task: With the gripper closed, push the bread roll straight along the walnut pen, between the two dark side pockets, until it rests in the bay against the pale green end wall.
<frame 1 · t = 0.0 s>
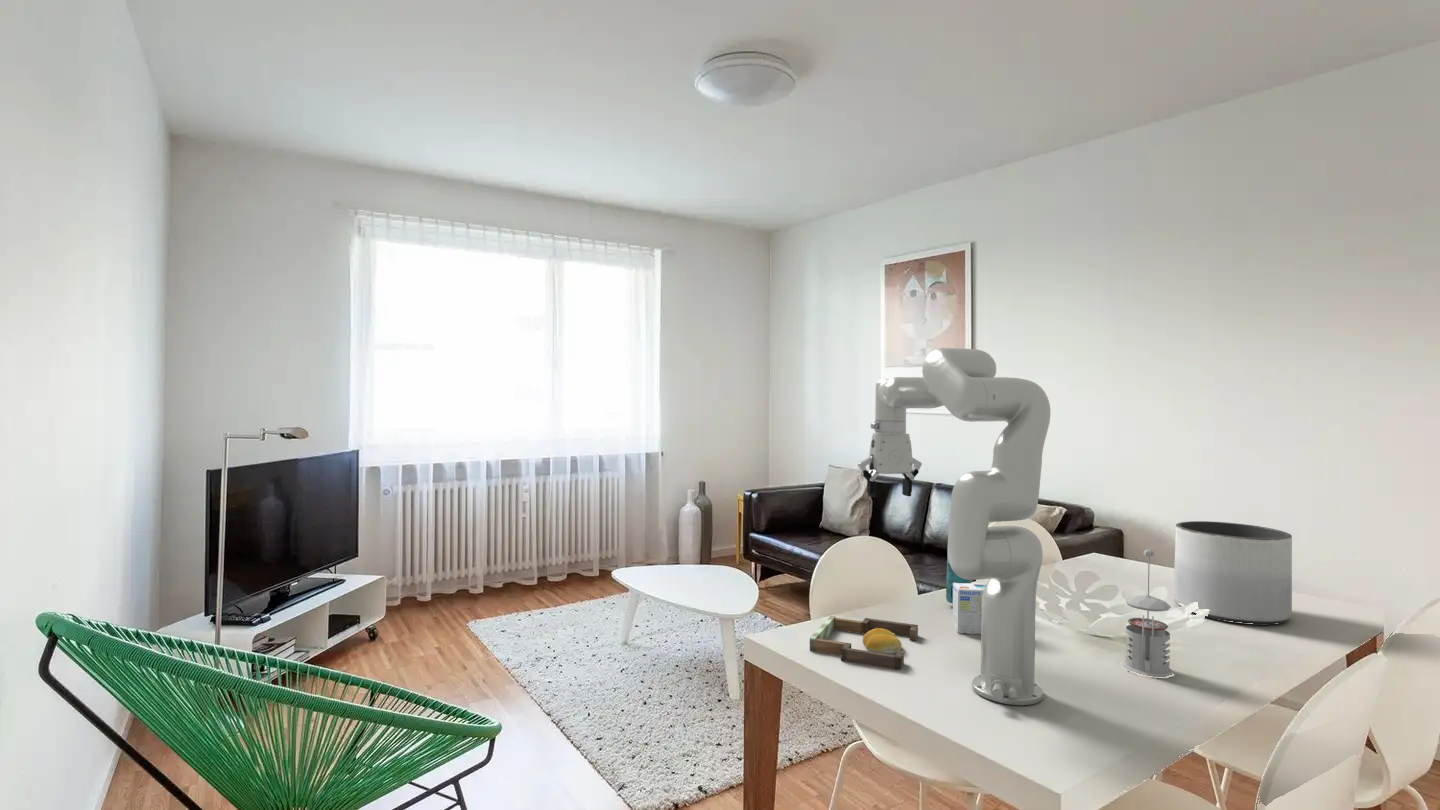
hand: (889, 496, 179), 31 cm above the table, tool pointing down, fingers open, 9 cm apart
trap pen: (864, 644, 161), on the table
bread roll: (881, 649, 159), on the table
beverage bottle: (958, 607, 191), on the table
light bulb box: (976, 631, 172), on the table
planter: (1230, 613, 189), on the table
french press: (1146, 671, 147), on the table
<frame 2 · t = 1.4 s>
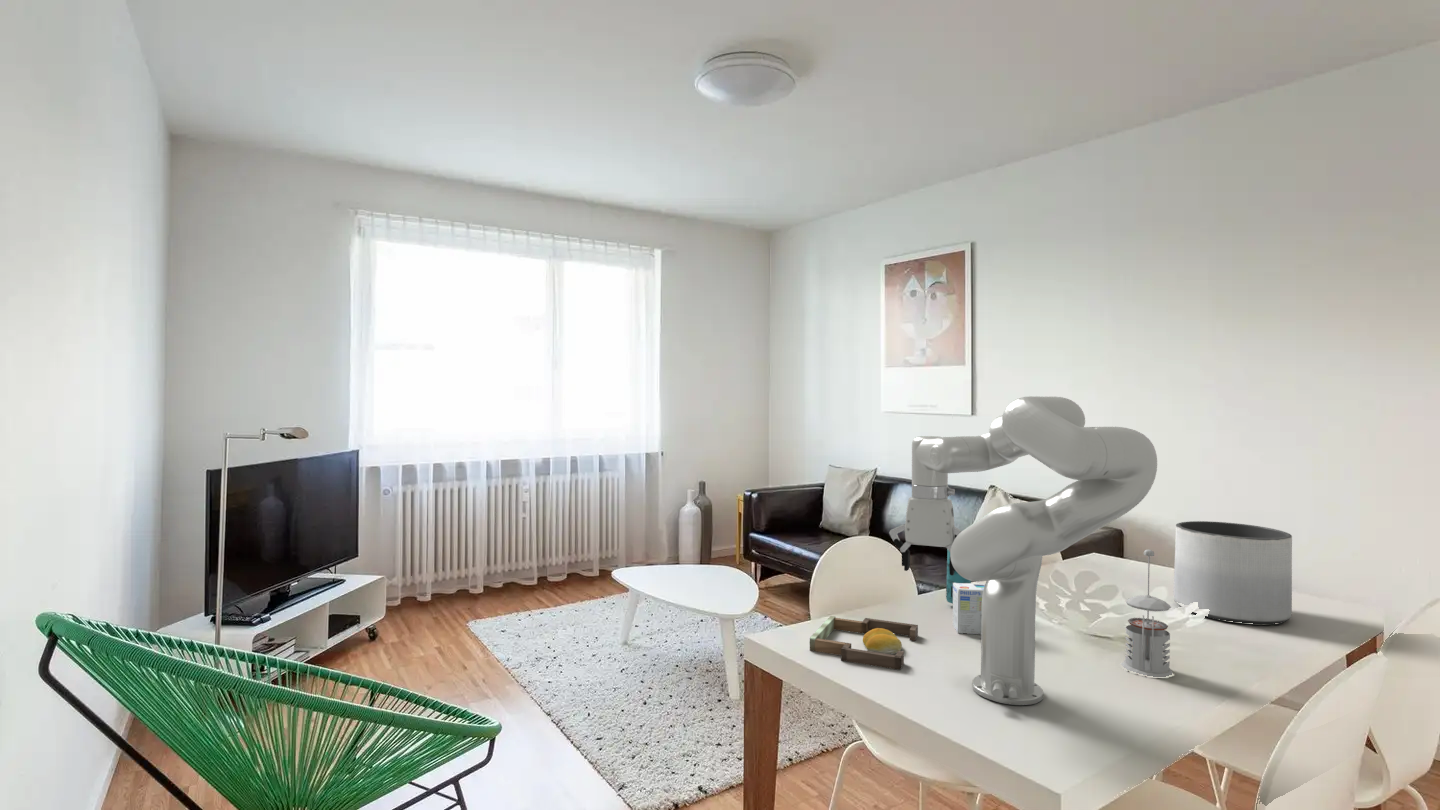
hand: (929, 571, 155), 18 cm above the table, tool pointing down, fingers open, 9 cm apart
nothing on the table moved.
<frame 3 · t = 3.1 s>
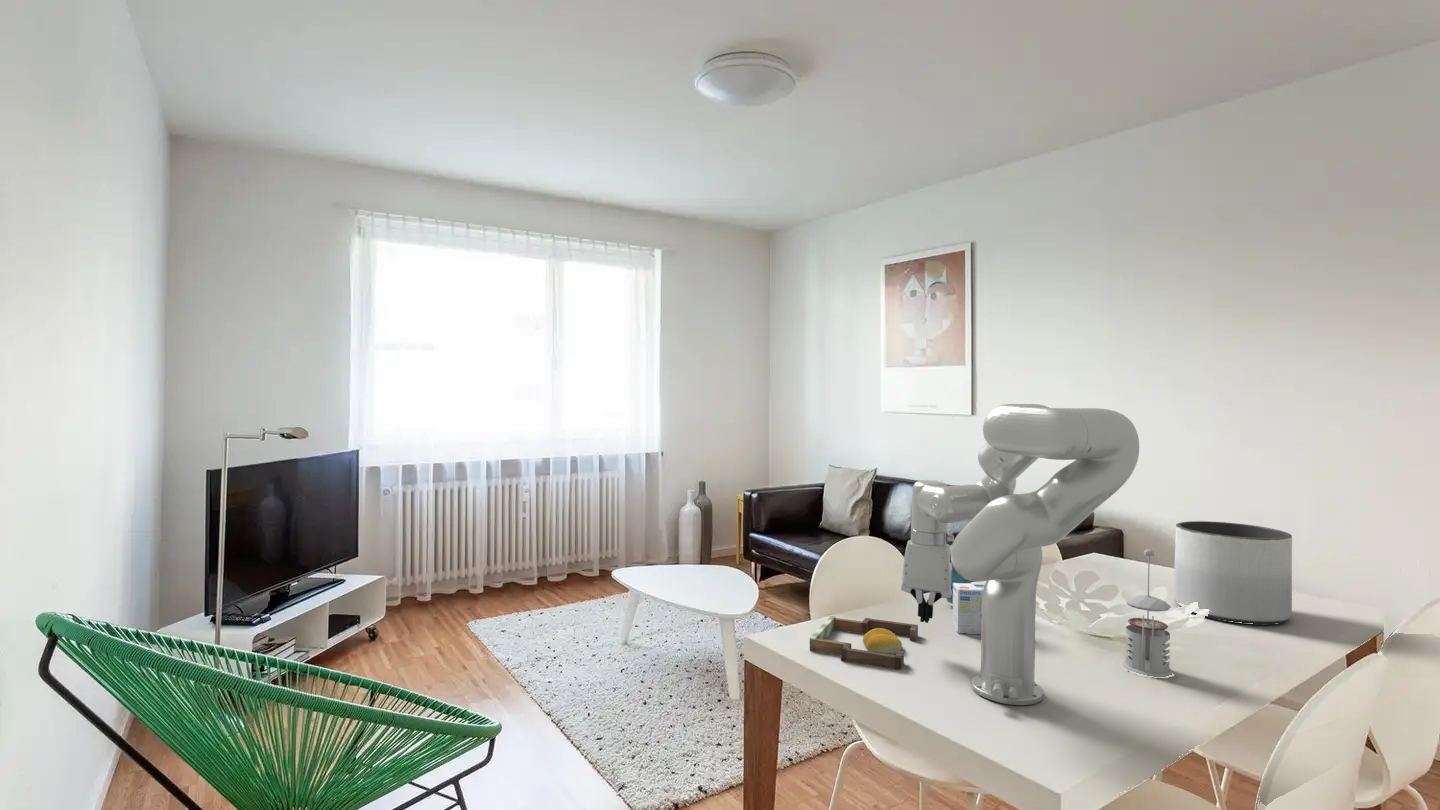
hand: (925, 620, 156), 7 cm above the table, tool pointing down, fingers closed
nothing on the table moved.
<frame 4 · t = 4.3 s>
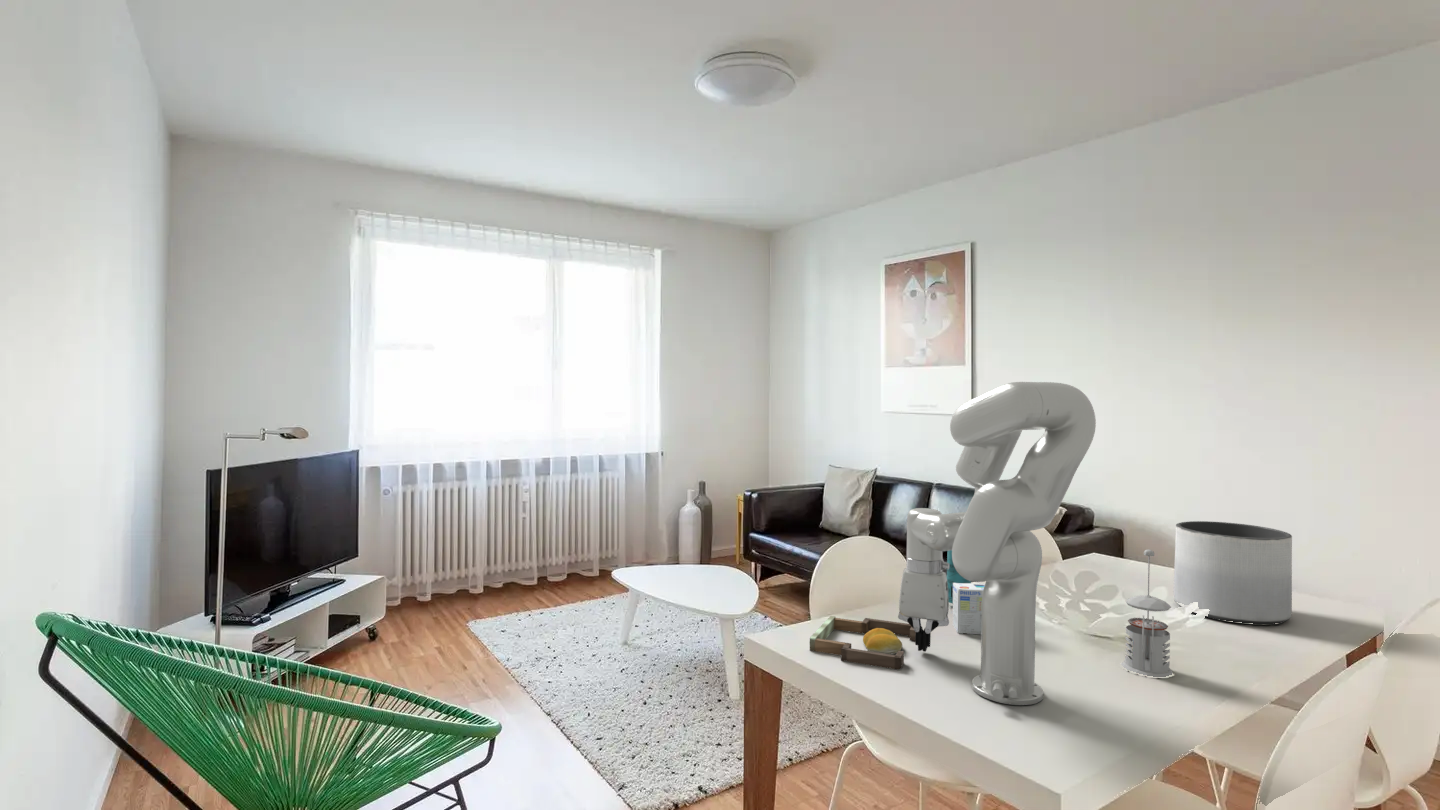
hand: (922, 649, 156), 1 cm above the table, tool pointing down, fingers closed
nothing on the table moved.
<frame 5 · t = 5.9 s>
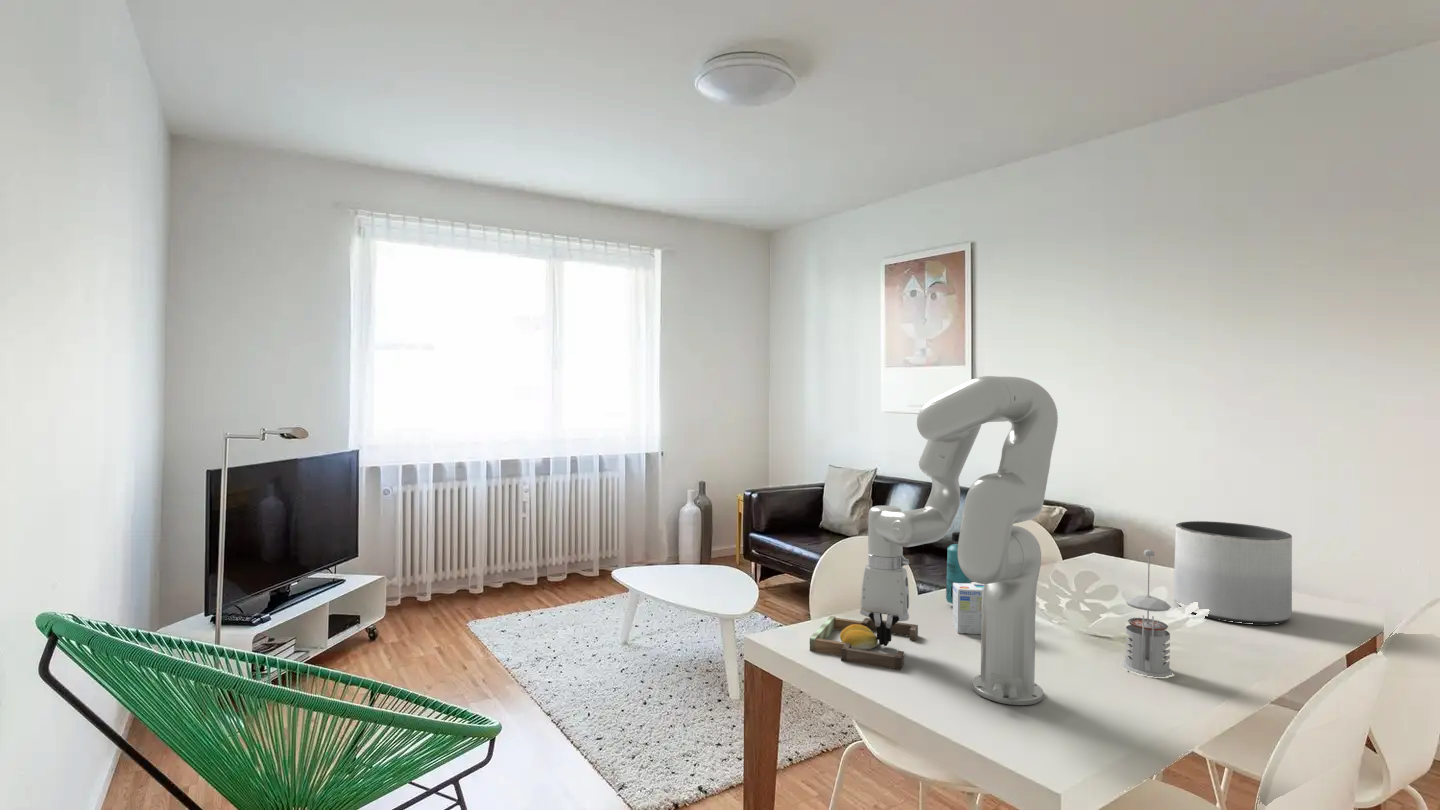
hand: (884, 643, 159), 1 cm above the table, tool pointing down, fingers closed
bread roll: (858, 645, 162), on the table, touching gripper
everything else where it was.
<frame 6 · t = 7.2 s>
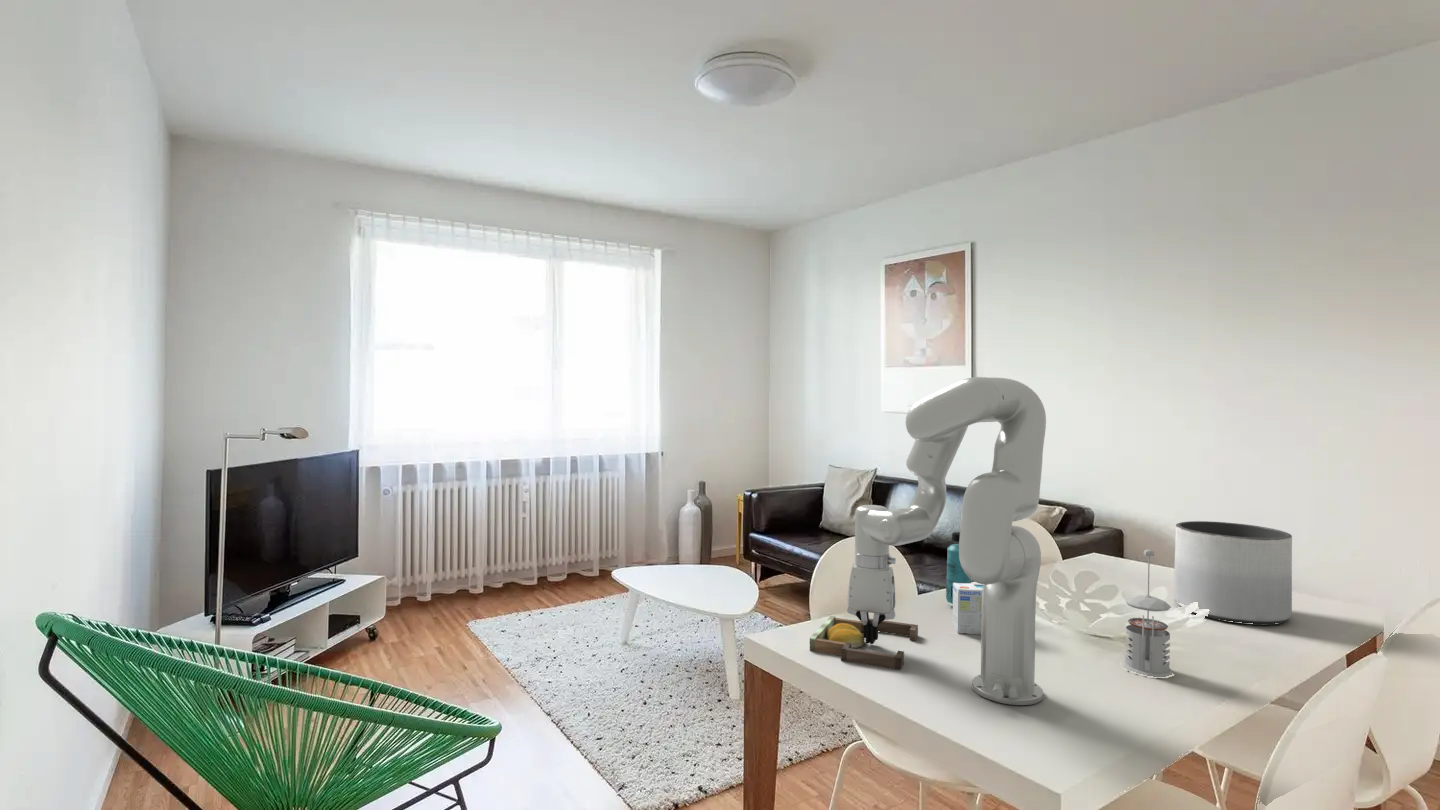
hand: (870, 641, 160), 1 cm above the table, tool pointing down, fingers closed
bread roll: (844, 644, 163), on the table
everything else where it was.
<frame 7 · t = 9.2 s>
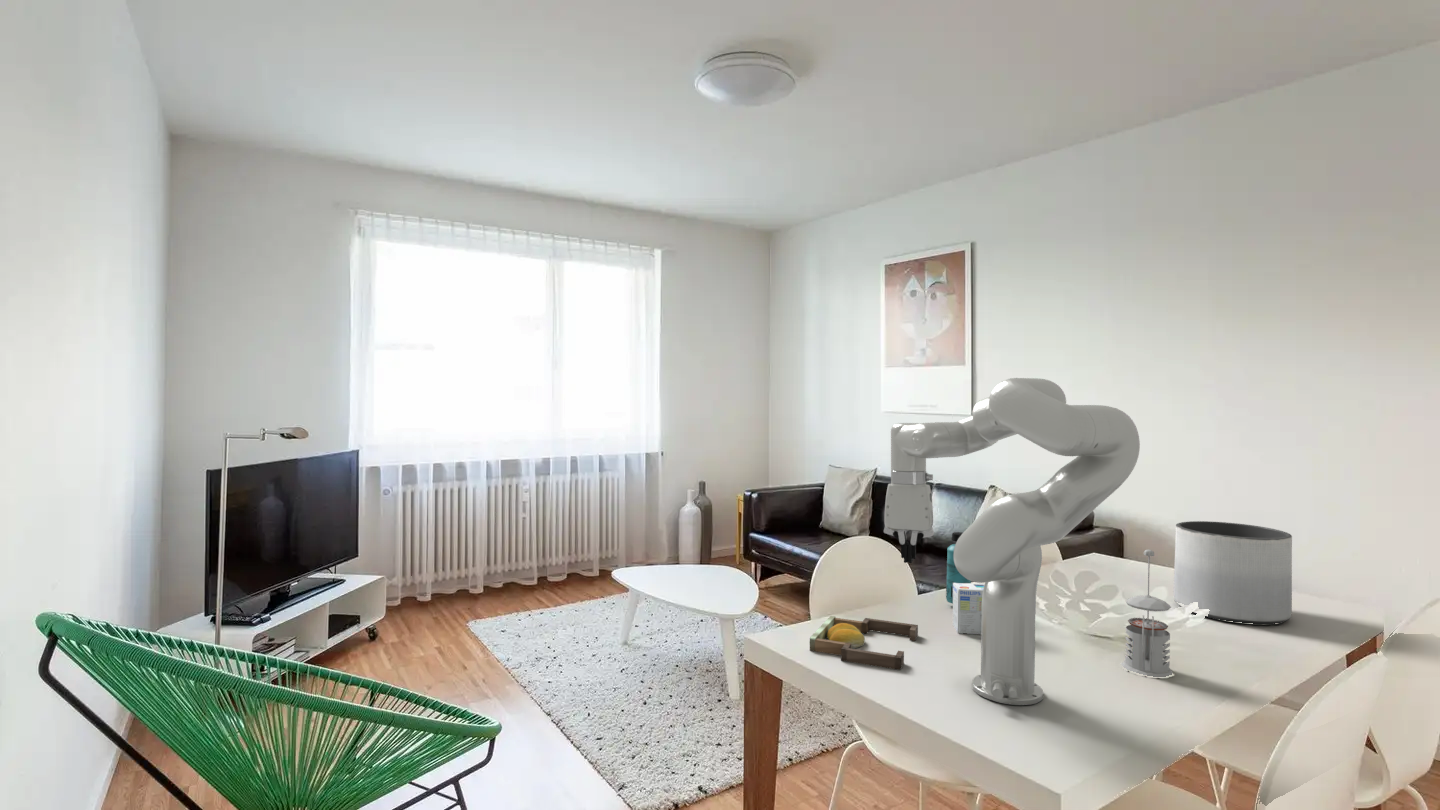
hand: (908, 561, 157), 20 cm above the table, tool pointing down, fingers closed
nothing on the table moved.
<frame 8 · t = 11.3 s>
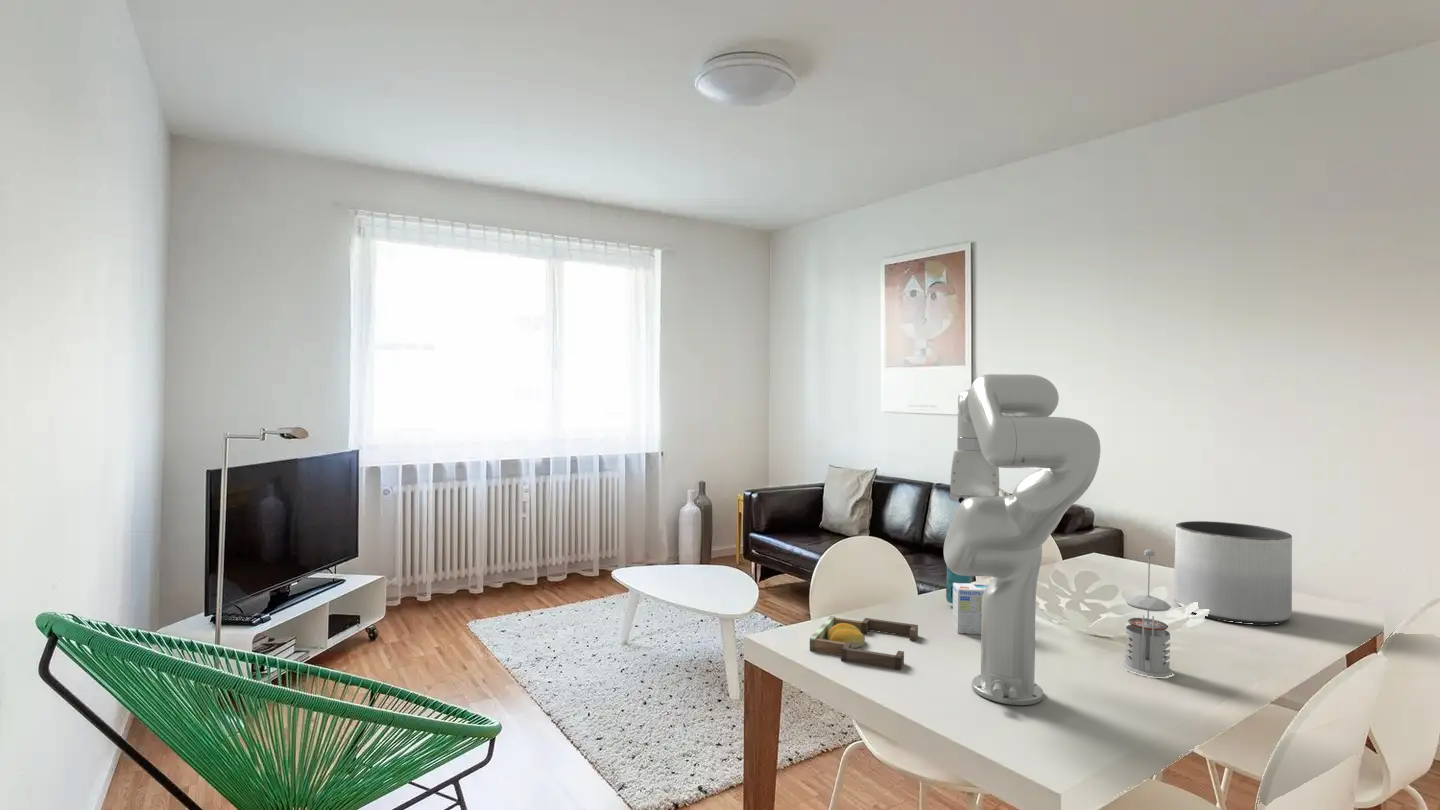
hand: (973, 527, 159), 27 cm above the table, tool pointing down, fingers closed
nothing on the table moved.
at the end: bread roll inside the target area (0.7 cm from its centre), on the table; bread roll moved 8.2 cm from its start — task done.
